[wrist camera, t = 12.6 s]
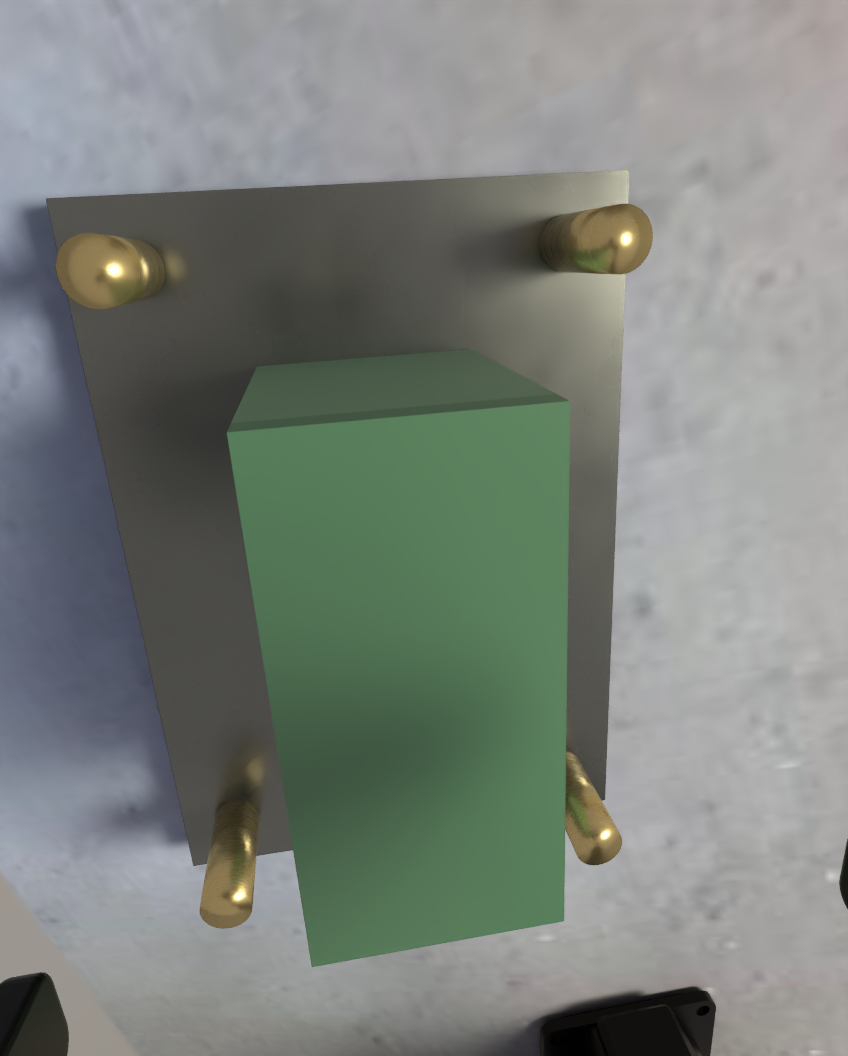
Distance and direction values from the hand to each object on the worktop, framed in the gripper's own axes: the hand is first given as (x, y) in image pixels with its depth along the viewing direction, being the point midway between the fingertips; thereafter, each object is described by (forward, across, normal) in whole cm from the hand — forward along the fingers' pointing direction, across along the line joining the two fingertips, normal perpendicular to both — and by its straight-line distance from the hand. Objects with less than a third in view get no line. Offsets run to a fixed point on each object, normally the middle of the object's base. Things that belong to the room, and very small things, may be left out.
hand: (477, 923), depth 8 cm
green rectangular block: (+11, 0, 0) cm, 11 cm away
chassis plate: (+12, 0, 0) cm, 12 cm away
